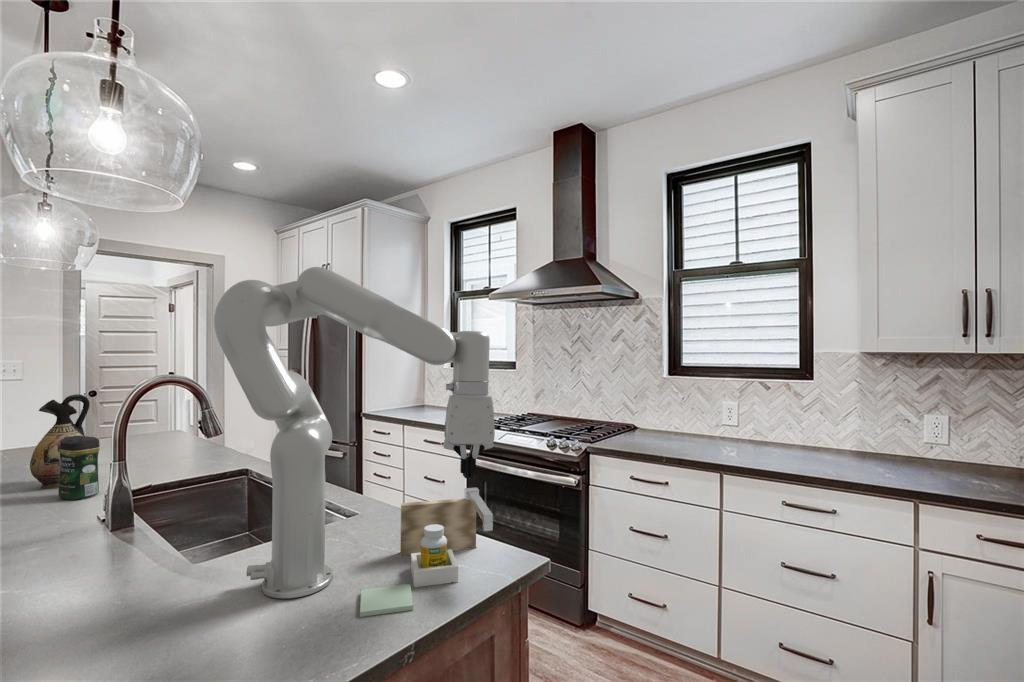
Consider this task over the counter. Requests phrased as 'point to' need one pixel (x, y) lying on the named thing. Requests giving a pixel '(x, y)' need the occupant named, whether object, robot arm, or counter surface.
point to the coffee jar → (78, 467)
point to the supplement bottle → (433, 547)
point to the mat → (386, 600)
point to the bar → (480, 507)
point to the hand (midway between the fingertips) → (467, 476)
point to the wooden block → (448, 513)
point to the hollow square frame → (433, 571)
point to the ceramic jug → (56, 440)
